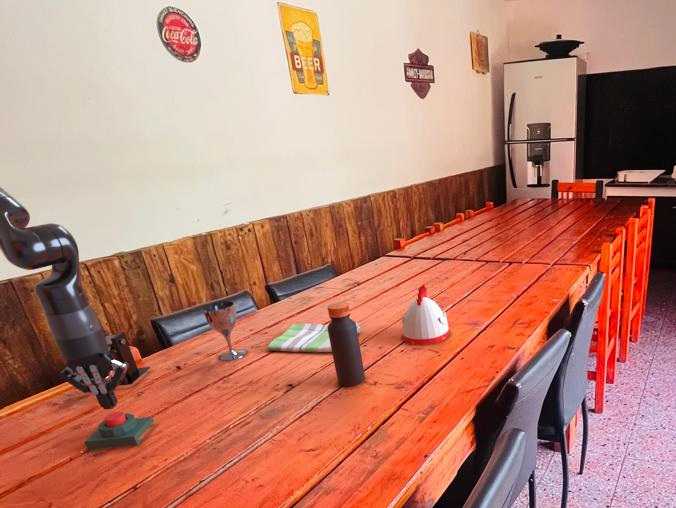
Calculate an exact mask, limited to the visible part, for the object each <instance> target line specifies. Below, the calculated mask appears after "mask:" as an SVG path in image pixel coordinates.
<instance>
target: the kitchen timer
mask: <svg viewBox="0 0 676 508" xmlns="http://www.w3.org/2000/svg"><path fill="white" fill-rule="evenodd" d="M427 289H428V288H427V287H426V284H422V285H421V286H419V287H418V293H417V298H416V299H413V301H412V302H411V303H410V304H409V306H408V307H407V309H406V311H404V314H403V316H402V317H401V324H402V325H401V326H402V327H401V335H402V340H403V341H404V342H406V343H408V344H410V345H411V344H412V345H418V346H419V345H421V346H422V345H424V346H425V345H432V344H436V343H437V344H438V343H439V342H443V340H445V339H447V338H448V337H449V335H450V329H449V324H448V318H447V313H446V311H445V310H443V311H442V309H441V307H440V306H439V304H437V303H436V301H434V300H432V299H431V298H429V297H428V295H427V294H428V292H427V291H428V290H427Z"/></svg>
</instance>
